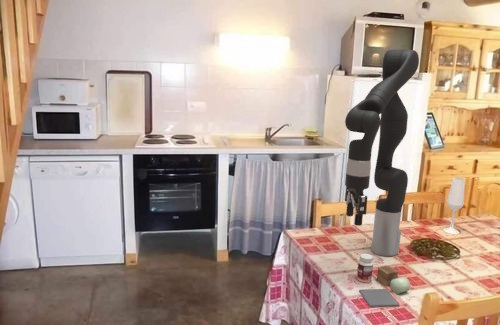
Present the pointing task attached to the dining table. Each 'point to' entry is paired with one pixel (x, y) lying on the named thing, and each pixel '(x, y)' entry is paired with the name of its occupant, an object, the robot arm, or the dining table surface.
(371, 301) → the plate
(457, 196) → the champagne flute
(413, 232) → the dining table surface
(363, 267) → the pill bottle
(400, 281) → the green tub
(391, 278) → the walnut cube
